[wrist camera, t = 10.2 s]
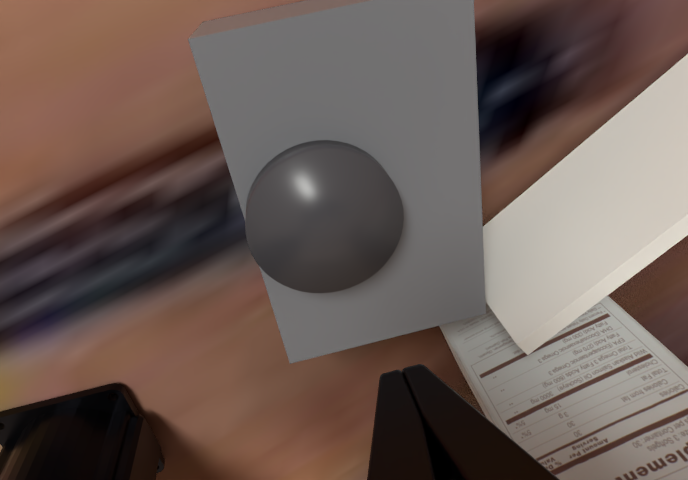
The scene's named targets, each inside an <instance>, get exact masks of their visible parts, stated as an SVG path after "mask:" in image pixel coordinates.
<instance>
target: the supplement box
mask: <svg viewBox="0 0 688 480" xmlns="http://www.w3.org/2000/svg"><path fill="white" fill-rule="evenodd" d="M439 327H440V329H441V331H442V333H443V335H444V337H445V339H446V341H447V343H448V346H449V348H450V350H451V352H452V354H453V356H454V358H455V360H456V362H457V364H458V366H459V368H460V370H461V372H462V374H463V375H464V377H465V379H466V381H467V383H468V385H469V387H470V388H471V390H472V392H473V394H474V396H475V398H476V399H477V401H478V403H479V405H480V407H481V409H482V411H483V412H484V414H485V416H486V418H487V419H488V420H490V421H491V422H492V423H493V424H494V425H496V426H497V427H498V428H499V429H500V430H502V431H503V432H504V433H505V434H506V435H507V436H509V437H510V438H511V439H512V440H513V441H515V442H516V443H517V444H518V445H519V446H521V447H522V448H523V449H524V450H525V451H527V452H528V453H529V454H530V455H531V456H532V457H534V458H535V459H536V460H537V461H538V462H540V463H541V464H542V465H543V466H544V467H546V468H547V469H548V470H549V471H550V472H551V473H553V474H554V475H555V476H556V477H557V478H559V479H560V480H688V367H687V366H686V365H685V364H684V363H682V362H681V361H680V360H679V359H678V358H677V357H676V356H675V355H674V354H673V353H671V352H670V351H669V350H668V349H667V348H666V347H665V346H664V345H663V344H661V343H660V342H659V341H658V340H657V339H656V338H655V337H654V336H653V335H651V334H650V333H649V332H648V331H647V330H646V329H645V328H644V327H642V326H641V325H640V324H639V323H638V322H637V321H636V320H635V319H634V318H632V317H631V316H630V315H629V314H628V313H627V312H626V311H624V310H623V309H622V308H621V307H620V306H619V305H618V304H617V303H615V302H614V301H613V300H612V299H611V298H610V297H609V296H608V295H607V296H606V297H605V298H603V299H602V300H601V301H599V302H598V303H597V304H595V305H594V306H593V307H591V308H590V309H589V310H587V311H586V312H585V313H583V314H582V315H581V316H579V317H578V318H577V319H575V320H574V321H573V322H571V323H570V324H569V325H567V326H566V327H565V328H563V329H562V330H561V331H559V332H558V333H557V334H555V335H554V336H553V337H552V338H550V339H549V340H548V341H546V342H545V343H544V344H542V345H541V346H540V347H538V348H537V349H536V350H534V351H533V352H532V353H530V354H529V355H527V354H526V353H525V352H524V351H523V350H522V349H521V348H520V347H519V346H518V345H517V344H516V343H515V342H514V340H513V339H512V337H511V336H510V335H509V333H508V332H507V330H506V329H505V328H504V326H503V325H502V323H501V322H500V321H499V319H498V318H497V316H496V315H495V314H494V312H493V311H492V309H491V308H490V307H489V305H488V304H487V303H486V314H483V315H479V316H475V317H471V318H467V319H463V320H459V321H455V322H451V323H448V324H444V325H440V326H439Z"/></svg>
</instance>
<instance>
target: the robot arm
mask: <svg viewBox="0 0 688 480" xmlns="http://www.w3.org/2000/svg"><path fill="white" fill-rule="evenodd" d="M111 393H115V394H117V395H113V394H111ZM0 444H1V445H2V447H3V448H2V450H1V452H0V480H155V479H156V473H159V472H161V471H162V470H163V468H164V464H165V459H164V457H163V455H162V453H161V452H160V451H161V446H160V444H159V443H158V441H157V439H156V437H155V435H154V434H153V432H152V430H151V428H150V426H149V425H148V423H147V421H146V419H145V418H144V417H143V416H142V415H140V414H139V412H138V411H137V409H136V407H135V405H134V404H133V402H132V400H131V398H130V396H129V395H128V393H127V391H126V389H125V388H124V387H123V386H122V385H120V384H109V385H105V386H101V387H97V388H93V389H89V390H85V391H81V392H77V393H73V394H69V395H65V396H61V397H57V398H53V399H49V400H45V401H41V402H37V403H33V404H29V405H25V406H21V407H17V408H13V409H9V410H5V411H1V412H0ZM367 480H560V479H559V478H557V477H556V476H555V475H554V474H553V473H551V472H550V471H549V470H548V469H547V468H546V467H544V466H543V465H542V464H541V463H540V462H538V461H537V460H536V459H535V458H534V457H532V456H531V455H530V454H529V453H528V452H527V451H525V450H524V449H523V448H522V447H521V446H519V445H518V444H517V443H516V442H515V441H513V440H512V439H511V438H510V437H509V436H507V435H506V434H505V433H504V432H503V431H502V430H500V429H499V428H498V427H497V426H496V425H494V424H493V423H492V422H491V421H490V420H488V419H487V418H486V417H485V416H484V415H483V414H481V413H480V412H479V411H478V410H477V409H475V408H474V407H473V406H472V405H471V404H469V403H468V402H467V401H466V400H465V399H464V398H462V397H461V396H460V395H459V394H458V393H456V392H455V391H454V390H453V389H452V388H450V387H449V386H448V385H447V384H446V383H444V382H443V381H442V380H441V379H440V378H439V377H437V376H436V375H435V374H434V373H433V372H431V371H430V370H429V369H428V368H427V367H425V366H424V365H422V364H418V365H414V366H410V367H407V368H404V369H403V370H402V372H401V371H400V370H395V371H391V372H387V373H383V374H382V375H381V376H380V380H379V388H378V396H377V404H376V412H375V420H374V429H373V437H372V445H371V453H370V461H369V469H368V477H367Z"/></svg>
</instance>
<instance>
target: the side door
mask: <svg viewBox="0 0 688 480" xmlns="http://www.w3.org/2000/svg"><path fill="white" fill-rule="evenodd" d="M687 235H688V54H687V55H686V56H685V57H684V58H682V59H681V60H680V61H679V62H678V63H676V64H675V65H674V66H673V67H672V68H670V69H669V70H668V71H667V72H666V73H665V74H663V75H662V76H661V77H660V78H659V79H657V80H656V81H655V82H654V83H653V84H652V85H650V86H649V87H648V88H647V89H646V90H644V91H643V92H642V93H641V94H640V95H638V96H637V97H636V98H635V99H634V100H633V101H631V102H630V103H629V104H628V105H627V106H625V107H624V108H623V109H622V110H621V111H620V112H618V113H617V114H616V115H615V116H614V117H612V118H611V119H610V120H609V121H608V122H606V123H605V124H604V125H603V126H602V127H601V128H599V129H598V130H597V131H596V132H595V133H593V134H592V135H591V136H590V137H589V138H588V139H586V140H585V141H584V142H583V143H582V144H580V145H579V146H578V147H577V148H576V149H574V150H573V151H572V152H571V153H570V154H569V155H567V156H566V157H565V158H564V159H563V160H561V161H560V162H559V163H558V164H557V165H556V166H554V167H553V168H552V169H551V170H550V171H548V172H547V173H546V174H545V175H544V176H542V177H541V178H540V179H539V180H538V181H537V182H535V183H534V184H533V185H532V186H531V187H529V188H528V189H527V190H526V191H525V192H524V193H522V194H521V195H520V196H519V197H518V198H516V199H515V200H514V201H513V202H512V203H510V204H509V205H508V206H507V207H506V208H505V209H503V210H502V211H501V212H500V213H499V214H497V215H496V216H495V217H494V218H493V219H492V220H490V221H489V222H488V223H487V224H486V225H484V226H483V249H484V275H485V300H486V303H487V304H488V305H489V307H490V308H491V309H492V311H493V312H494V314H495V315H496V316H497V318H498V319H499V321H500V322H501V323H502V325H503V326H504V328H505V329H506V330H507V332H508V333H509V335H510V336H511V337H512V339H513V340H514V342H515V343H516V344H517V345H518V346H519V347H520V348H521V349H522V350H523V351H524V352H525V353H526V354H527V355H529V354H530V353H532V352H533V351H534V350H536V349H537V348H538V347H540V346H541V345H542V344H544V343H545V342H546V341H548V340H549V339H550V338H552V337H553V336H554V335H555V334H557V333H558V332H559V331H561V330H562V329H563V328H565V327H566V326H567V325H569V324H570V323H571V322H573V321H574V320H575V319H577V318H578V317H579V316H581V315H582V314H583V313H585V312H586V311H587V310H589V309H590V308H591V307H593V306H594V305H595V304H597V303H598V302H599V301H601V300H602V299H603V298H605V297H606V296H607V295H609V294H610V293H611V292H613V291H614V290H615V289H617V288H618V287H619V286H621V285H622V284H623V283H625V282H626V281H627V280H629V279H630V278H631V277H633V276H634V275H635V274H637V273H638V272H639V271H641V270H642V269H643V268H645V267H646V266H647V265H648V264H650V263H651V262H652V261H654V260H655V259H656V258H658V257H659V256H660V255H662V254H663V253H664V252H666V251H667V250H668V249H670V248H671V247H672V246H674V245H675V244H676V243H678V242H679V241H680V240H682V239H683V238H684V237H686V236H687Z"/></svg>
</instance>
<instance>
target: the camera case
mask: <svg viewBox="0 0 688 480" xmlns="http://www.w3.org/2000/svg"><path fill="white" fill-rule="evenodd" d="M188 41H189V44H190V47H191V50H192V53H193V56H194V60H195V63H196V66H197V69H198V72H199V76H200V79H201V82H202V85H203V88H204V91H205V95H206V98H207V101H208V104H209V107H210V111H211V114H212V117H213V120H214V123H215V127H216V130H217V133H218V136H219V139H220V142H221V146H222V149H223V152H224V155H225V158H226V162H227V165H228V168H229V171H230V174H231V177H232V181H233V184H234V187H235V190H236V193H237V197H238V200H239V203H240V206H241V209H242V212H243V216H244V219H245V228H246V238H247V242H248V246H249V249H250V251H251V254H252V256H253V257H254V259H255V261H256V262H257V264H258V265H259V267H260V270H261V273H262V276H263V279H264V282H265V286H266V289H267V292H268V295H269V298H270V302H271V305H272V308H273V311H274V314H275V317H276V321H277V324H278V327H279V330H280V333H281V337H282V340H283V343H284V346H285V349H286V352H287V356H288V359H289V362H290V364H291V363H295V362H298V361H302V360H306V359H310V358H314V357H318V356H322V355H326V354H330V353H334V352H338V351H342V350H346V349H349V348H353V347H357V346H361V345H365V344H369V343H373V342H377V341H381V340H385V339H389V338H393V337H397V336H400V335H404V334H408V333H412V332H416V331H420V330H424V329H428V328H432V327H436V326H440V325H444V324H448V323H451V322H455V321H459V320H463V319H467V318H471V317H475V316H479V315H483V314H486V300H485V275H484V249H483V224H482V199H481V173H480V148H479V123H478V97H477V72H476V47H475V22H474V0H305V1H301V2H296V3H291V4H286V5H281V6H277V7H272V8H267V9H262V10H258V11H253V12H248V13H243V14H239V15H234V16H229V17H224V18H219V19H215V20H210V21H205V22H202V23H201V25H200V26H199V27H198V28H197V29H196V30H195V32H194V33H193V34H192V35H191V36H190V37H189V38H188Z"/></svg>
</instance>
